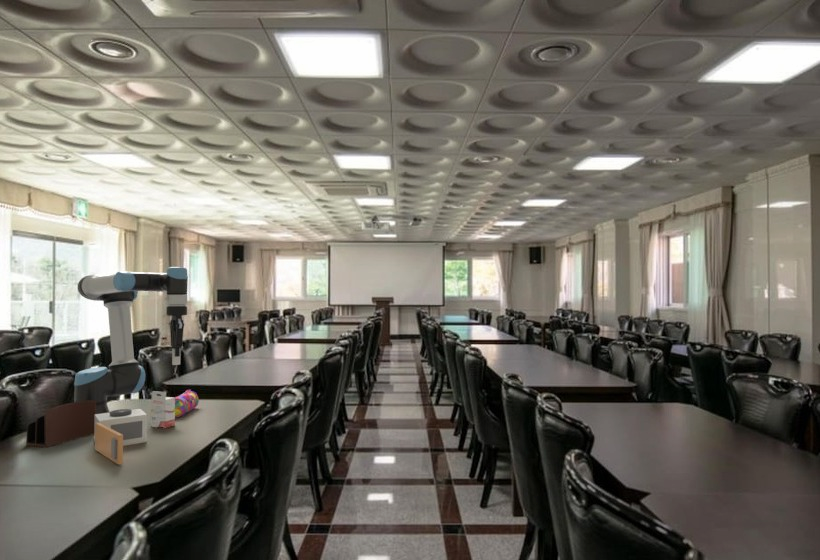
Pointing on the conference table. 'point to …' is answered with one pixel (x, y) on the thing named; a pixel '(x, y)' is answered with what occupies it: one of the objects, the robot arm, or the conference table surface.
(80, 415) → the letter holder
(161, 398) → the ink cartridge box
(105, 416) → the camera housing
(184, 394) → the pencil case
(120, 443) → the side door
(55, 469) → the conference table surface
